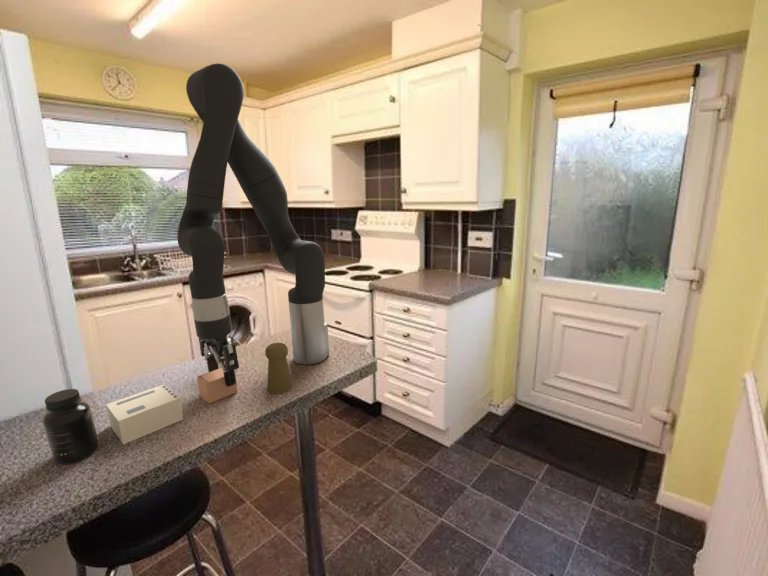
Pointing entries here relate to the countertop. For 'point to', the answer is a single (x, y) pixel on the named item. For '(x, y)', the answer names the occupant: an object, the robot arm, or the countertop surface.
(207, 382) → the orange box
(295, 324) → the robot arm
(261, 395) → the countertop surface
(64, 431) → the supplement bottle
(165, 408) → the cream box
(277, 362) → the brown pawn
